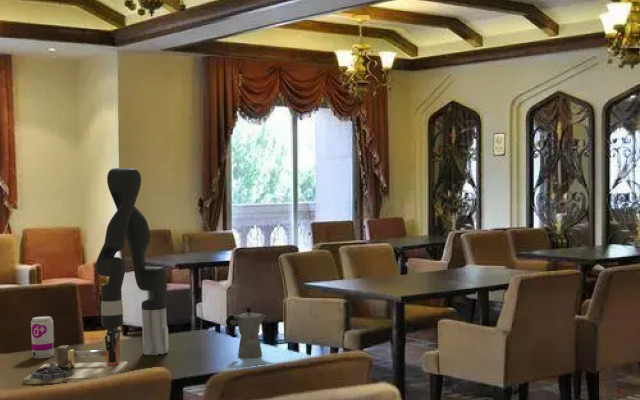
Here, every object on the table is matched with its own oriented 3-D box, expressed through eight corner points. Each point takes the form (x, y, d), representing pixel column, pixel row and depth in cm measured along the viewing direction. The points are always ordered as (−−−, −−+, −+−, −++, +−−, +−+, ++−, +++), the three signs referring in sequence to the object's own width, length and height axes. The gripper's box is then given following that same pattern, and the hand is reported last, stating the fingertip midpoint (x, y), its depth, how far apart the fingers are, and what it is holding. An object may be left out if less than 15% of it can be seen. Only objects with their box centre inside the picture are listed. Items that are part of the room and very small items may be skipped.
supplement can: (47, 359, 336) (46, 319, 336) (28, 358, 338) (26, 319, 337) (58, 354, 344) (56, 316, 343) (38, 354, 346) (37, 315, 345)
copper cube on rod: (120, 362, 318) (119, 340, 318) (118, 365, 314) (117, 342, 314) (70, 364, 318) (69, 342, 318) (67, 366, 314) (66, 344, 314)
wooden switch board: (128, 365, 320) (127, 342, 320) (113, 381, 296) (112, 356, 296) (45, 368, 320) (44, 345, 320) (23, 384, 296) (22, 359, 296)
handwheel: (69, 367, 312) (68, 346, 312) (80, 375, 300) (79, 353, 300) (27, 373, 304) (26, 352, 304) (37, 381, 292) (36, 358, 292)
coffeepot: (263, 351, 338) (262, 304, 338) (270, 356, 329) (269, 307, 329) (224, 355, 333) (222, 307, 332) (230, 360, 324) (228, 311, 324)
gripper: (118, 315, 308) (119, 365, 309) (126, 309, 322) (128, 356, 323) (96, 316, 308) (98, 365, 309) (106, 310, 322) (107, 357, 323)
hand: (113, 360), depth 316 cm, fingers closed on copper cube on rod, 4 cm apart
